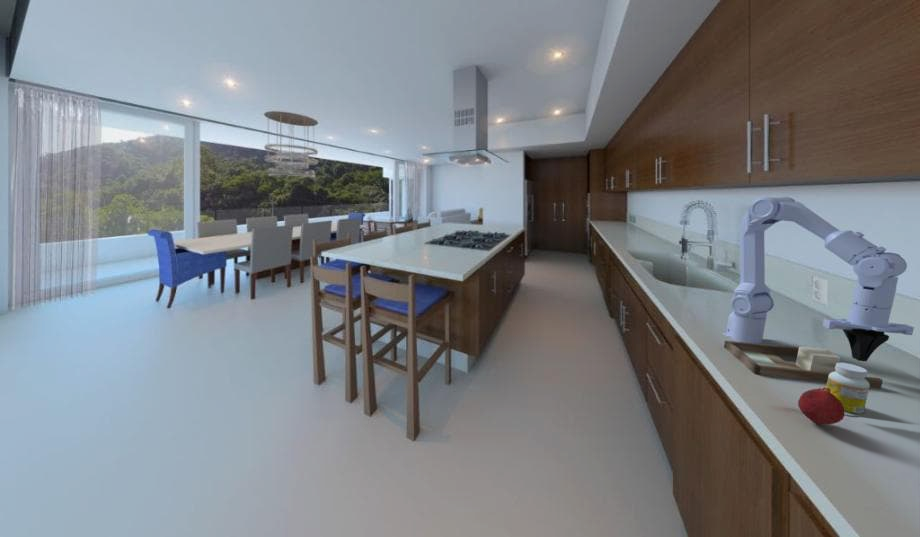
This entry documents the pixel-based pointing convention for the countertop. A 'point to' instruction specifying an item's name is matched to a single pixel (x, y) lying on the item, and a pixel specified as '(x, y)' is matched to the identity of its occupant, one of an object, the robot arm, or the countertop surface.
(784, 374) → the wooden tray
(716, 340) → the countertop surface
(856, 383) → the supplement bottle
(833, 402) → the red oval lump
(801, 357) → the cream cube
